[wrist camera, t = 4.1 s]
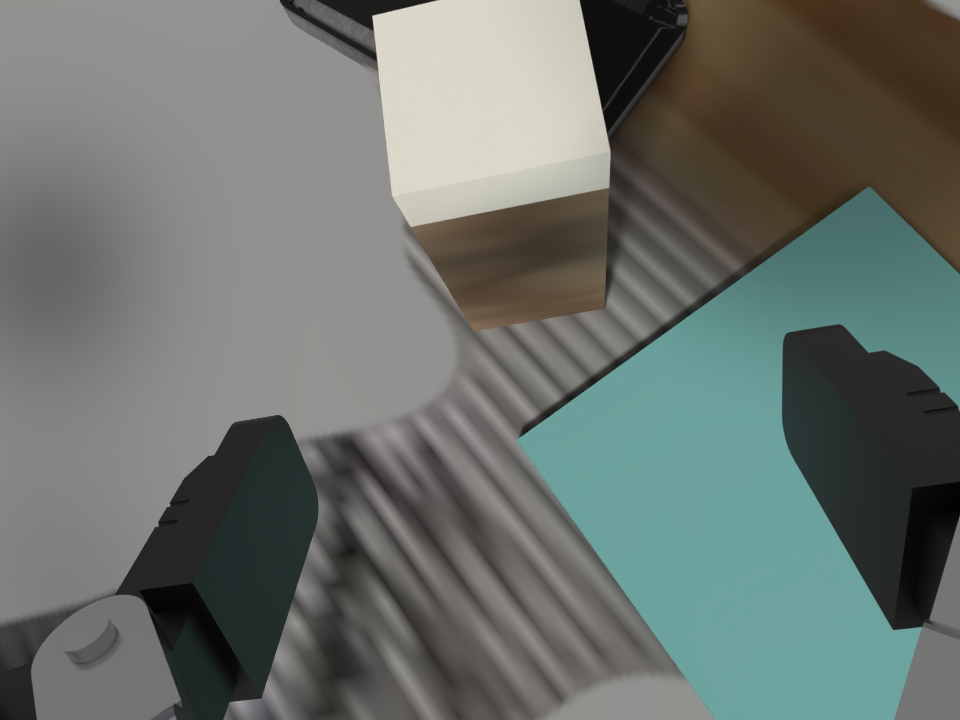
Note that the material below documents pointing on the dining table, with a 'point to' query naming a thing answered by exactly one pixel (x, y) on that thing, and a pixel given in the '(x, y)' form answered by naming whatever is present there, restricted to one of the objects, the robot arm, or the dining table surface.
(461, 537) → the dining table surface
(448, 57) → the walnut block
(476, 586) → the dining table surface
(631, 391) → the teal mat
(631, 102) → the phone
